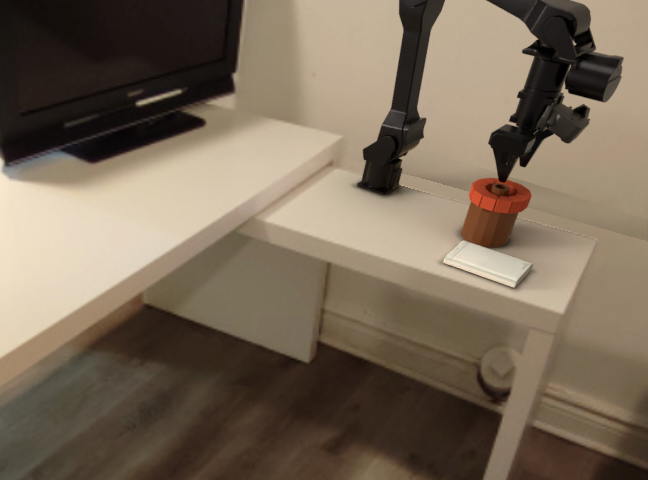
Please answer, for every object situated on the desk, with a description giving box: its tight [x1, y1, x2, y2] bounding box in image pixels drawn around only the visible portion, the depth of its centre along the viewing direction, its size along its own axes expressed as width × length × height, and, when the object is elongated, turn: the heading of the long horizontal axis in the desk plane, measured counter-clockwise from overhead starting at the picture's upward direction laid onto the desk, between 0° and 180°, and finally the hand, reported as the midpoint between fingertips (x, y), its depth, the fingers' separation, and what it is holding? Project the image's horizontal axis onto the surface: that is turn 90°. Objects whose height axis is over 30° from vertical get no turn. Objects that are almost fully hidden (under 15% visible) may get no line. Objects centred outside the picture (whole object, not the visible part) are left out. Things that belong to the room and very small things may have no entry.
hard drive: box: [443, 239, 534, 289], centre depth 138 cm, size 2×8×12 cm
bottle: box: [460, 183, 520, 249], centre depth 144 cm, size 8×8×10 cm
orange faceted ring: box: [468, 177, 532, 214], centre depth 142 cm, size 10×10×2 cm
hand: (512, 174), depth 142 cm, fingers open, 9 cm apart
